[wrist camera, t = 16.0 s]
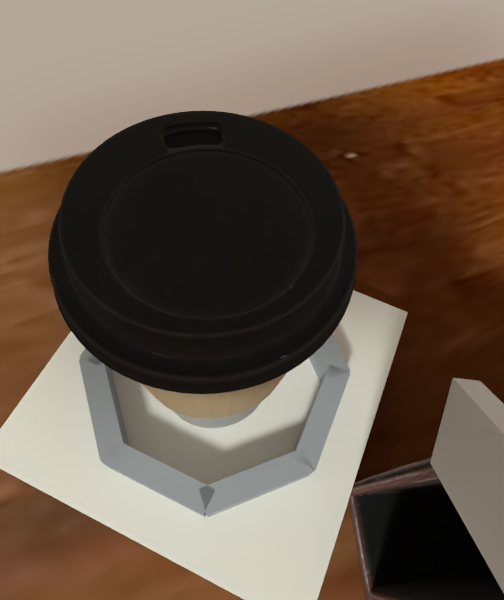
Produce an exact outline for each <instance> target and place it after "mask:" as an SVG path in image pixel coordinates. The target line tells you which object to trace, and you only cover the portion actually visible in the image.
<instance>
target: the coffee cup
mask: <svg viewBox="0 0 504 600" xmlns="http://www.w3.org/2000/svg"><path fill="white" fill-rule="evenodd" d="M357 257H358V253H357V239H356V232H355V228H354V224H353V221H352V218H351V215H350V212H349V210H348V208H347V206H346V204H345V202H344V200H343V198H342V197H341V195H340V193H339V190H338V187H337V185H336V183H335V181H334V179H333V177H332V175H331V174H330V172H329V170H328V169H327V168H326V166H325V165H324V164H323V162H322V161H321V160H320V159H319V158H318V157H317V156H316V155H315V154H314V153H313V152H312V151H311V150H310V149H309V148H308V147H307V146H306V145H304V144H303V143H302V142H301V141H299V140H298V139H296V138H295V137H293V136H292V135H290V134H288V133H287V132H285V131H283V130H281V129H279V128H277V127H275V126H273V125H271V124H268V123H266V122H263V121H260V120H257V119H255V118H251V117H247V116H243V115H238V114H233V113H226V112H216V111H188V112H180V113H173V114H167V115H163V116H159V117H155V118H151V119H148V120H145V121H143V122H140V123H137V124H135V125H132V126H130V127H128V128H126V129H124V130H122V131H120V132H119V133H117V134H115V135H114V136H112V137H110V138H109V139H107V140H106V141H105V142H103V144H101V145H99V146H98V147H97V148H96V149H95V150H94V151H93V152H92V153H90V155H89V156H88V157H87V158H86V159H85V160H84V161H83V162H82V163H81V165H80V166H79V167H78V169H77V170H76V172H75V173H74V175H73V176H72V178H71V180H70V182H69V184H68V186H67V188H66V191H65V193H64V196H63V199H62V203H61V206H60V208H59V210H58V212H57V215H56V218H55V220H54V223H53V227H52V230H51V234H50V240H49V250H48V261H49V272H50V277H51V282H52V285H53V288H54V293H55V297H56V300H57V303H58V307H59V309H60V311H61V313H62V316H63V318H64V320H65V322H66V323H67V325H68V327H69V328H70V330H71V331H72V333H73V334H74V335H75V337H76V338H77V339H78V341H79V342H80V343H81V344H82V345H83V346H84V347H85V348H86V349H87V350H88V351H89V352H90V353H91V354H92V355H93V356H94V357H96V358H97V359H98V360H99V361H100V362H102V363H103V364H105V365H106V366H108V367H109V368H110V369H112V370H114V371H116V372H117V373H119V374H121V375H123V376H125V377H127V378H129V379H131V380H134V381H136V382H139V383H141V384H142V385H143V386H144V387H145V388H146V389H147V390H148V391H149V392H150V393H151V394H152V395H153V396H154V397H155V398H156V399H158V400H159V401H160V402H161V403H162V404H163V405H164V406H166V407H167V408H169V409H171V410H173V411H174V412H175V413H176V414H177V415H178V416H179V417H180V418H181V419H182V420H184V421H186V422H188V423H190V424H192V425H194V426H198V427H202V428H220V427H226V426H229V425H233V424H236V423H238V422H240V421H242V420H243V419H245V418H246V417H248V416H249V415H250V414H252V413H253V412H254V411H255V410H256V408H257V407H258V406H259V405H260V403H261V402H262V401H263V400H264V399H265V398H267V397H268V396H269V395H270V394H271V393H272V391H273V390H274V389H275V388H276V387H277V385H278V384H279V383H280V381H281V380H282V379H283V377H284V376H285V375H286V373H287V372H289V371H291V370H292V369H294V368H295V367H297V366H299V365H300V364H302V363H303V362H304V361H305V360H307V359H308V358H309V357H311V356H312V355H313V354H314V353H315V352H316V351H317V350H318V349H319V348H320V347H322V346H323V344H324V343H325V342H326V341H327V340H328V339H329V337H330V336H331V335H332V334H333V332H334V331H335V329H336V328H337V327H338V325H339V323H340V321H341V320H342V318H343V316H344V314H345V312H346V310H347V307H348V305H349V303H350V299H351V296H352V293H353V288H354V283H355V275H356V268H357Z"/></svg>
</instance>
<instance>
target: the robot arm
mask: <svg viewBox="0 0 504 600" xmlns="http://www.w3.org/2000/svg"><path fill="white" fill-rule="evenodd" d="M430 463H431V465H432V467H433V469H434V471H435V472H436V474H437V476H438V478H439V479H440V481H441V483H442V485H443V487H444V488H445V490H446V492H447V494H448V495H449V497H450V499H451V501H452V503H453V504H454V506H455V508H456V510H457V511H458V513H459V515H460V517H461V519H462V520H463V522H464V524H465V526H466V527H467V529H468V531H469V533H470V535H471V536H472V538H473V540H474V542H475V543H476V545H477V547H478V549H479V551H480V552H481V554H482V556H483V558H484V559H485V561H486V563H487V565H488V567H489V568H490V570H491V572H492V574H493V575H494V577H495V579H496V581H497V583H498V584H499V586H500V588H501V590H502V591H503V593H504V404H503V403H502V402H501V401H500V400H499V399H498V398H497V397H496V396H495V395H494V394H493V393H492V392H491V391H490V390H489V389H488V388H487V387H486V386H485V385H484V384H483V383H482V382H481V381H476V380H468V379H460V378H453V379H452V382H451V386H450V390H449V394H448V397H447V401H446V405H445V409H444V412H443V416H442V420H441V424H440V427H439V431H438V435H437V439H436V442H435V446H434V450H433V454H432V458H431V461H430Z"/></svg>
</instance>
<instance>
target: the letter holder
mask: <svg viewBox="0 0 504 600" xmlns="http://www.w3.org/2000/svg"><path fill="white" fill-rule="evenodd" d="M431 458H432V457H430V458H428V459H424V460H421V461H417V462H413V463H410V464H407V465H403V466H399V467H397V468H394V469H391V470H389V471H386V472H383V473H380V474H376V475H373V476H370V477H368V478H366V479H363V480H361V481H358V482H354V485H353V488H352V491H351V494H350V497H349V504H350V510H351V516H352V521H353V527H354V533H355V538H356V544H357V549H358V554H359V560H360V566H361V572H362V578H363V583H364V588H365V593H366V599H367V600H504V593H503V591H502V590H501V588H500V586H499V584H498V583H497V581H496V579H495V577H494V575H493V574H492V572H491V570H490V568H489V567H488V565H487V563H486V561H485V559H484V558H483V556H482V554H481V552H480V551H479V549H478V547H477V545H476V543H475V542H474V540H473V538H472V536H471V535H470V533H469V531H468V529H467V527H466V526H465V524H464V522H463V520H462V519H461V517H460V515H459V513H458V511H457V510H456V508H455V506H454V504H453V503H452V501H451V499H450V497H449V495H448V494H447V492H446V490H445V488H444V487H443V485H442V483H441V481H440V479H439V478H438V476H437V474H436V472H435V471H434V469H433V467H432V465H431V463H430V461H431Z"/></svg>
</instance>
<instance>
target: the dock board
mask: <svg viewBox="0 0 504 600" xmlns="http://www.w3.org/2000/svg"><path fill="white" fill-rule="evenodd" d="M407 314H408V312H406V311H403V310H401V309H398V308H396V307H394V306H391V305H389V304H386V303H384V302H381V301H379V300H376V299H374V298H371V297H369V296H366V295H364V294H362V293H359V292H357V291H354V290H353V293H352V296H351V299H350V303H349V305H348V307H347V310H346V312H345V314H344V316H343V318H342V320H341V321H340V323H339V325H338V327H337V328H336V329H335V331H334V332H333V334H332V335H331V336H330V337H329V339H328V340H327V341H326V342H325V343H324V344H323V346H322V347H320V348H319V349H318V350H317V351H316V352H315V353H314V354H313V355H312V356H311V357H309V358H308V359H307V360H305V361H304V362H303V363H302V364H300V365H299V366H297V367H295V368H294V369H292V370H291V371H289V372H287V373H286V375H285V376H284V377H283V379H282V380H281V381H280V383H279V384H278V385H277V387H276V388H275V389H274V390H273V391H272V393H271V394H270V395H269V396H268V397H267V398H265V399H264V400H263V401H262V402H261V403H260V405H259V406H258V407H257V408H256V410H255V411H254V412H253V413H252V414H250V415H249V416H248V417H246V418H245V419H243V420H242V421H240V422H238V423H236V424H233V425H229V426H226V427H220V428H202V427H198V426H194V425H192V424H190V423H188V422H186V421H184V420H182V419H181V418H180V417H179V416H178V415H177V414H176V413H175V412H174V411H173V410H171V409H169V408H167V407H166V406H164V405H163V404H162V403H161V402H160V401H159V400H158V399H156V398H155V397H154V396H153V395H152V394H151V393H150V392H149V391H148V390H147V389H146V388H145V387H144V386H143V385H142V384H141V383H139V382H136V381H134V380H131V379H129V378H127V377H125V376H123V375H121V374H119V373H117V372H116V371H114V370H112V369H110V368H109V367H108V366H106V365H105V364H103V363H102V362H100V361H99V360H98V359H97V358H96V357H94V356H93V355H92V354H91V353H90V352H89V351H88V350H87V349H86V348H85V347H84V346H83V345H82V344H81V343H80V342H79V341H78V339H77V338H76V337H75V335H74V334H73V333H72V331H71V332H70V333H69V335H68V336H67V337H66V339H65V340H64V342H63V343H62V344H61V346H60V347H59V349H58V350H57V351H56V353H55V354H54V355H53V357H52V358H51V360H50V361H49V362H48V364H47V365H46V367H45V368H44V369H43V371H42V372H41V373H40V375H39V376H38V378H37V379H36V380H35V382H34V383H33V385H32V386H31V387H30V389H29V390H28V391H27V393H26V394H25V396H24V397H23V398H22V400H21V401H20V403H19V404H18V405H17V407H16V408H15V409H14V411H13V412H12V414H11V415H10V416H9V418H8V419H7V421H6V422H5V423H4V425H3V426H2V427H1V429H0V469H2V470H4V471H6V472H7V473H9V474H11V475H13V476H15V477H17V478H19V479H21V480H22V481H24V482H26V483H28V484H30V485H32V486H34V487H35V488H37V489H39V490H41V491H43V492H45V493H47V494H48V495H50V496H52V497H54V498H56V499H58V500H60V501H62V502H63V503H65V504H67V505H69V506H71V507H73V508H75V509H76V510H78V511H80V512H82V513H84V514H86V515H88V516H89V517H91V518H93V519H95V520H97V521H99V522H101V523H103V524H104V525H106V526H108V527H110V528H112V529H114V530H116V531H117V532H119V533H121V534H123V535H125V536H127V537H129V538H130V539H132V540H134V541H136V542H138V543H140V544H142V545H144V546H145V547H147V548H149V549H151V550H153V551H155V552H157V553H158V554H160V555H162V556H164V557H166V558H168V559H170V560H171V561H173V562H175V563H177V564H179V565H181V566H183V567H185V568H186V569H188V570H190V571H192V572H194V573H196V574H198V575H199V576H201V577H203V578H205V579H207V580H209V581H211V582H212V583H214V584H216V585H218V586H220V587H222V588H224V589H226V590H227V591H229V592H231V593H233V594H235V595H237V596H239V597H240V598H242V599H244V600H317V599H318V596H319V593H320V589H321V586H322V583H323V580H324V577H325V574H326V570H327V567H328V564H329V561H330V558H331V554H332V551H333V548H334V545H335V542H336V539H337V535H338V532H339V529H340V526H341V523H342V520H343V516H344V513H345V510H346V507H347V504H348V501H349V497H350V494H351V491H352V488H353V485H354V482H355V478H356V475H357V472H358V469H359V466H360V463H361V459H362V456H363V453H364V450H365V447H366V444H367V440H368V437H369V434H370V431H371V428H372V425H373V421H374V418H375V415H376V412H377V409H378V406H379V402H380V399H381V396H382V393H383V390H384V387H385V383H386V380H387V377H388V374H389V371H390V368H391V364H392V361H393V358H394V355H395V352H396V349H397V345H398V342H399V339H400V336H401V333H402V330H403V326H404V323H405V320H406V317H407Z"/></svg>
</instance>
